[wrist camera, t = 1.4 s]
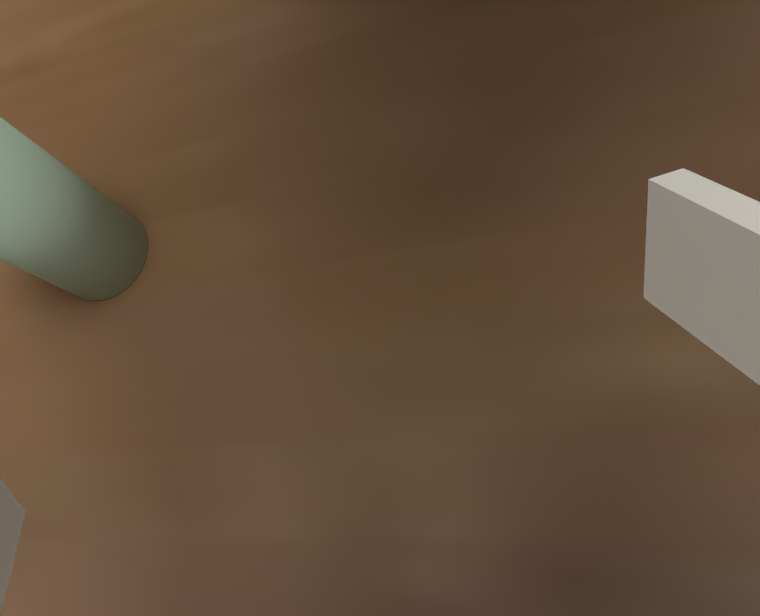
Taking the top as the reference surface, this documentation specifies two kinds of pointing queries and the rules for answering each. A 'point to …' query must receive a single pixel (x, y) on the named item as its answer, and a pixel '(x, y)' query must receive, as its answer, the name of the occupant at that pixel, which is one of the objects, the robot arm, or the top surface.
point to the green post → (63, 224)
